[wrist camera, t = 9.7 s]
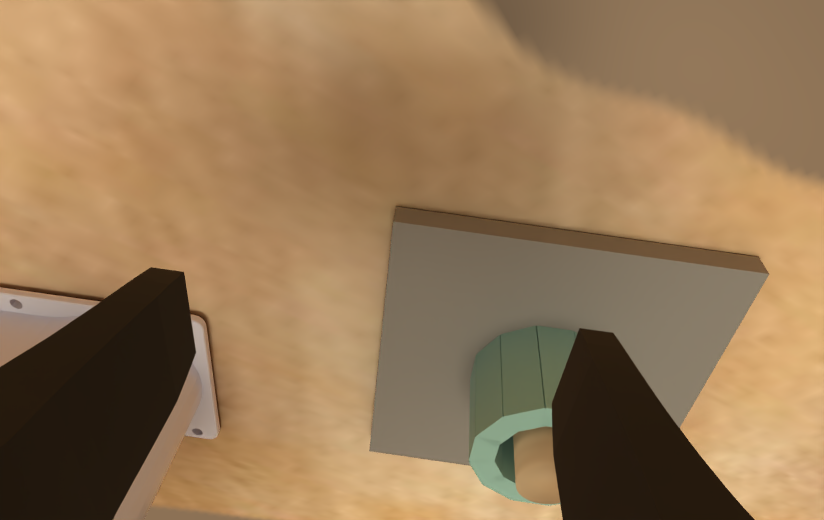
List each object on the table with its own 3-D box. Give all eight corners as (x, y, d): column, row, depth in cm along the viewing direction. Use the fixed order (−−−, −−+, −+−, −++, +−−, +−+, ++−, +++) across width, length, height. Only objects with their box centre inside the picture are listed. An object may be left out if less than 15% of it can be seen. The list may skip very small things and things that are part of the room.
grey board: (372, 433, 29) (369, 451, 29) (396, 206, 22) (393, 221, 21) (638, 472, 29) (643, 490, 28) (758, 256, 22) (769, 274, 21)
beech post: (505, 390, 25) (510, 499, 21) (516, 353, 24) (523, 461, 20) (557, 398, 25) (571, 508, 21) (571, 361, 24) (589, 471, 20)
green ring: (462, 409, 26) (460, 492, 23) (484, 318, 23) (485, 399, 20) (586, 427, 26) (600, 513, 23) (625, 337, 23) (648, 422, 20)
